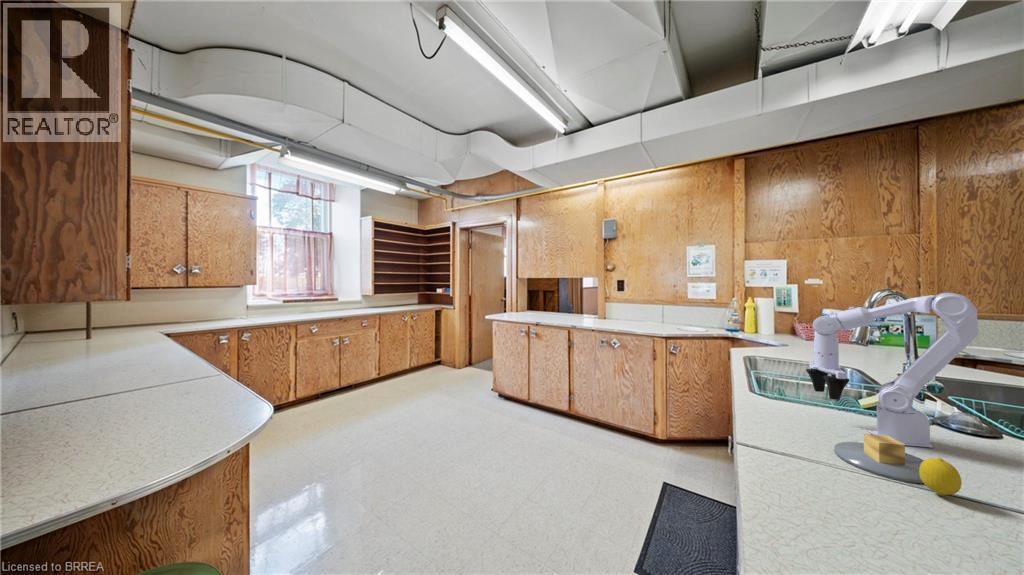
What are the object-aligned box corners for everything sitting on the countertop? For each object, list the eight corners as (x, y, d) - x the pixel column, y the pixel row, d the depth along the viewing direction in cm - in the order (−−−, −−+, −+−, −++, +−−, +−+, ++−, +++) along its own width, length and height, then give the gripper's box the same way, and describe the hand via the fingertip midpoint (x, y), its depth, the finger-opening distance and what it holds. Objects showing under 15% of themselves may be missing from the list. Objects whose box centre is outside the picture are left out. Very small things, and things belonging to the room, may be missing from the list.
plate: (898, 449, 90) (898, 446, 90) (969, 489, 72) (969, 484, 72) (818, 442, 94) (818, 438, 94) (866, 478, 77) (866, 473, 77)
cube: (888, 455, 85) (887, 435, 85) (905, 465, 80) (905, 444, 80) (863, 452, 86) (863, 433, 86) (879, 462, 82) (879, 442, 82)
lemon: (971, 505, 67) (970, 466, 67) (937, 502, 68) (937, 463, 68) (941, 488, 73) (941, 452, 73) (911, 486, 74) (910, 450, 74)
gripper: (798, 348, 114) (799, 387, 114) (825, 357, 100) (826, 401, 100) (823, 349, 112) (823, 388, 112) (854, 358, 98) (855, 403, 98)
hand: (826, 395), depth 106 cm, fingers open, 7 cm apart
